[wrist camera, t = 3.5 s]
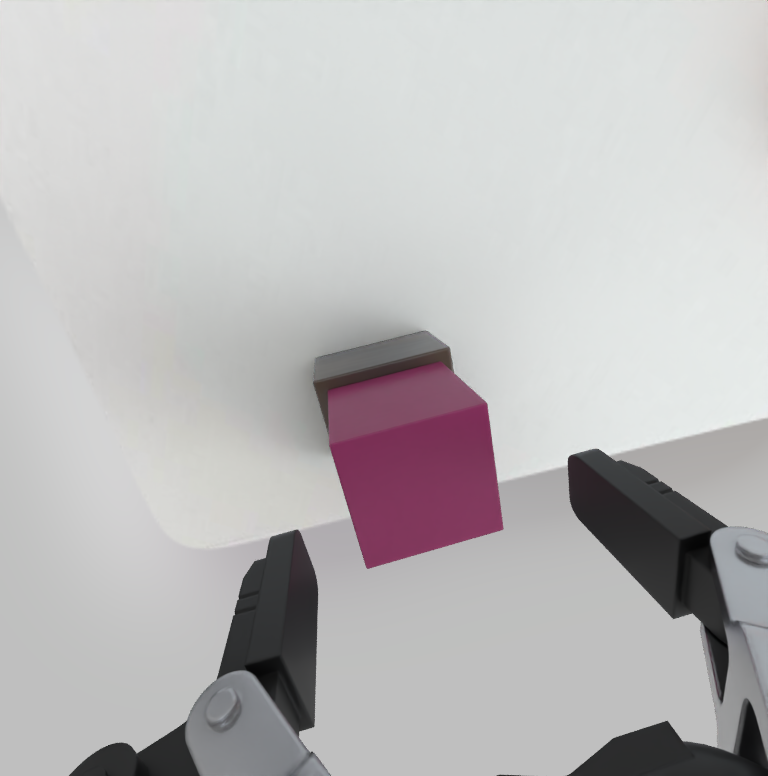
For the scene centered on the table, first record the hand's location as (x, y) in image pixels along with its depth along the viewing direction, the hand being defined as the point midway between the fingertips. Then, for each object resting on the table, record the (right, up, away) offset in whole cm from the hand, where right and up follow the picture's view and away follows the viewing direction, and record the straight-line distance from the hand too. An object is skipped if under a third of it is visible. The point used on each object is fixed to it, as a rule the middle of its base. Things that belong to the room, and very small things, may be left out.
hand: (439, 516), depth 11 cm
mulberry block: (-1, +2, +6) cm, 7 cm away
